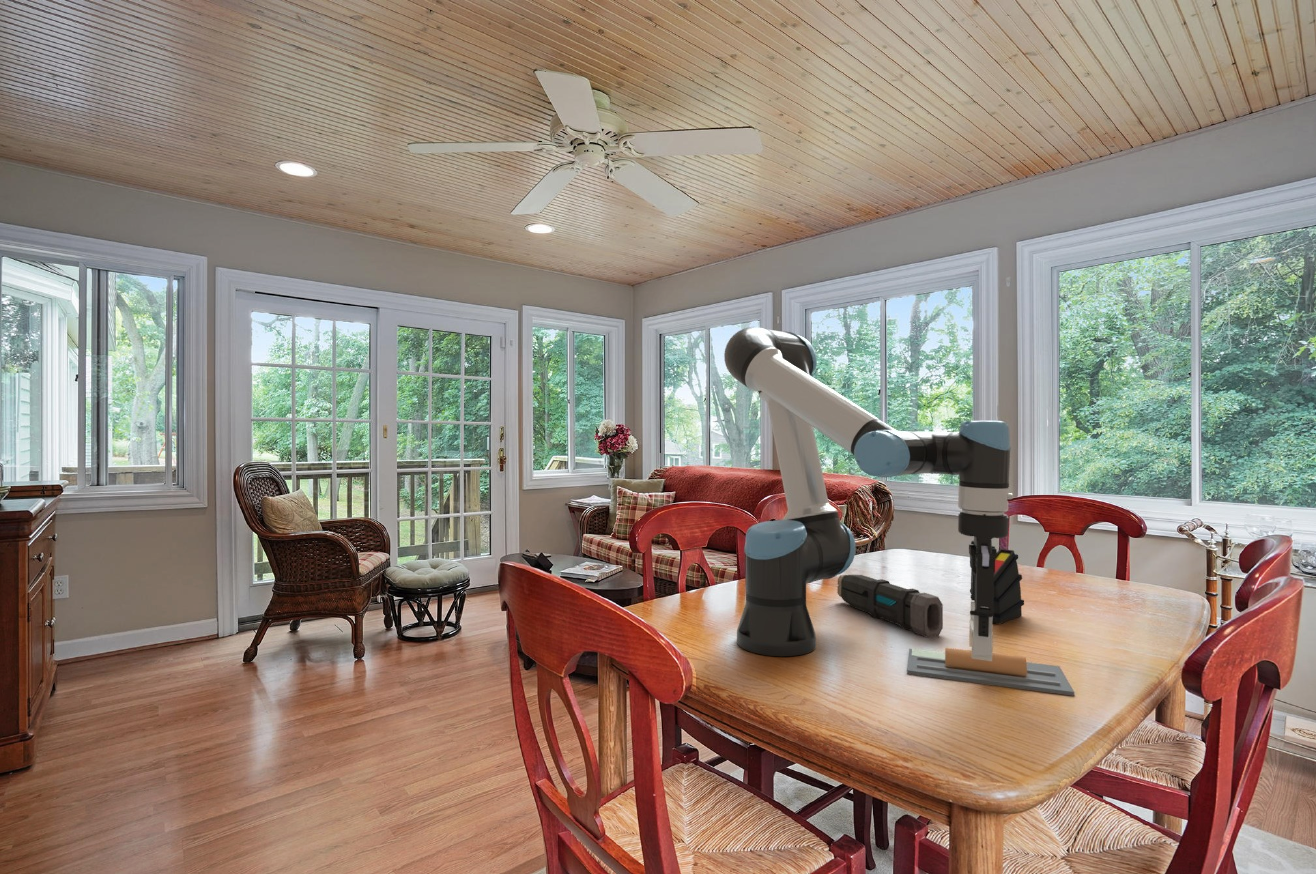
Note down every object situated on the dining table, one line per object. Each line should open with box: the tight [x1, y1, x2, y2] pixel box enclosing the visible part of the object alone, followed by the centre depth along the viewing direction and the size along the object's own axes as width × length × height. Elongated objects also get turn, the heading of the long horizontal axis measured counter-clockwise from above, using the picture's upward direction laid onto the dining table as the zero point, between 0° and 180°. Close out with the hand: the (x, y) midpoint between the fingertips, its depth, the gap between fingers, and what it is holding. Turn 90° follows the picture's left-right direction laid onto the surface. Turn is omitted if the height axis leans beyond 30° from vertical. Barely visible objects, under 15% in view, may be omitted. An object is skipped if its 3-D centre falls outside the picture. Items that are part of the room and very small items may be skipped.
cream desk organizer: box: [968, 619, 994, 661], centre depth 107 cm, size 3×7×4 cm, turn 157°
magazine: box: [992, 548, 1025, 625], centre depth 138 cm, size 4×13×15 cm, turn 127°
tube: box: [837, 574, 944, 639], centre depth 140 cm, size 11×7×30 cm
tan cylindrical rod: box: [944, 647, 1027, 677], centre depth 106 cm, size 12×3×3 cm, turn 67°
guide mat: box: [906, 648, 1075, 697], centre depth 107 cm, size 24×12×1 cm, turn 67°
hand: (980, 646), depth 107 cm, fingers closed on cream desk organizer, 7 cm apart
